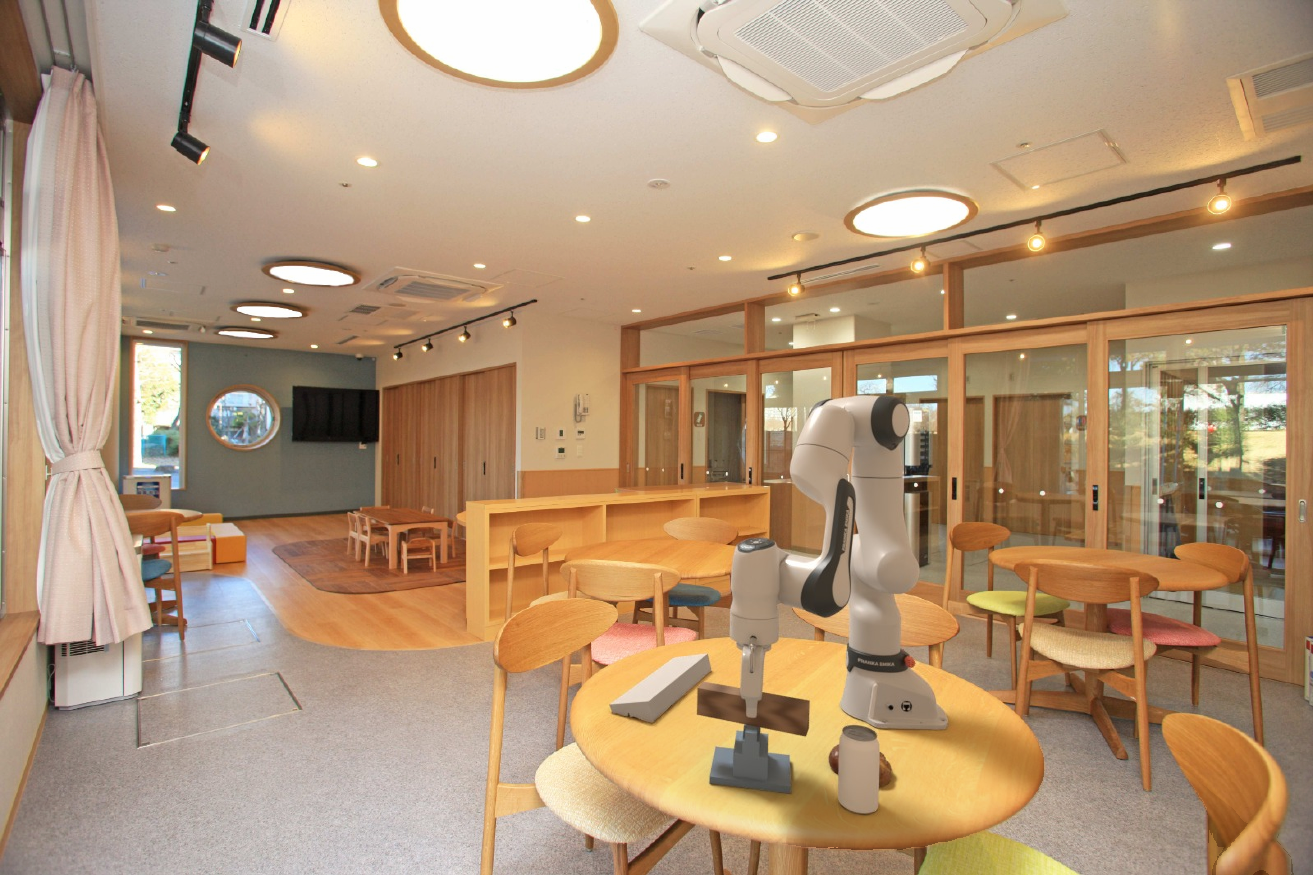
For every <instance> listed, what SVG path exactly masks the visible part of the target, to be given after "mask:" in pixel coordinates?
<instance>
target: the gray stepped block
mask: <svg viewBox="0 0 1313 875" xmlns="http://www.w3.org/2000/svg"><path fill="white" fill-rule="evenodd" d="M761 729H762V728H760V727H755V726H750V725H745V724H743V729H742V730H738V729H737V730H736V733H735V740H734V747H733V748H732V747H722V746H714V751H713V752H714V753H713V757H712V761H711V766H710V767H711V768H710V772H709V781H708V782H709V784H711V783H712V784H713V785H720V786H726V787H727V786H728V787H735V788H744V789H752V790H759V791H767V792H773V793H782V794H783V793H784V794H791V793H792V792H791V791H792V782H791V780H792V779H791V778H792V777H791V758H790V754H786V753H785V754H784V753H775V752H769V733H765V732H764V733H763V732H761Z"/></svg>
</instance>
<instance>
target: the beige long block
mask: <svg viewBox="0 0 1313 875" xmlns="http://www.w3.org/2000/svg"><path fill="white" fill-rule="evenodd" d="M710 672H712V666H711V662H710V657H709V653H702V654H691V655H684V656H675V657H673V658H671V659H670V660H668V661H667V662H666V663H664V664H662V666H660V667H659V668H658V669H656V670H655V671H653V672H652V673H650V674H649V675H648V676H646V677H645V678H644V679H642V680H641V681H640V682H638V683H637V684H636V685H634V686H633V687H631V688H630V689H629V690H627V691H626V692H624V693H623V694H621V695H620V696H619V697H618V698H616V699H615V700H613V701H612V702H610V703H609V708H610V710H611V713H612V714H618V715H620V716H624V717H630V718H633V717H634V718H636V719H638V720H640V719H641V720H640V721H643V720H644V722H647V723H652V724H653V723H654V722H655V721H656V720H657V719H658V718H659V717H661V716H662V715H663V714H664V713H665V712H666V711H668V709H669V708H670V706H671V705H672V706H673V705H674V704H675V703H676V702H678V701H679V700H680V699H681V698H682V697H683V696H684V695H686V694H687V693H688V692H689V691H690V690H691V689H692V688H693V687H695V686H696V685H697V683H699V682H700V681H701V680H703V679H704V678H705V677H706V676H707V675H708V674H709V673H710ZM686 692H687V693H686ZM672 706H671V707H672ZM661 714H662V715H661ZM660 715H661V716H660Z"/></svg>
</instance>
